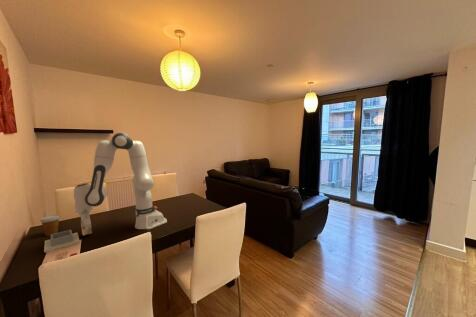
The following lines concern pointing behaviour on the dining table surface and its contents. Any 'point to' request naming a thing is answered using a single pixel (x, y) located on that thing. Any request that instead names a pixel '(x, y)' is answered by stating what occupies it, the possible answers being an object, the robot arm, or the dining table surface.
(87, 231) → the chute block
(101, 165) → the robot arm
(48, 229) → the disposable coffee cup
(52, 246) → the chute mount
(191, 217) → the dining table surface
